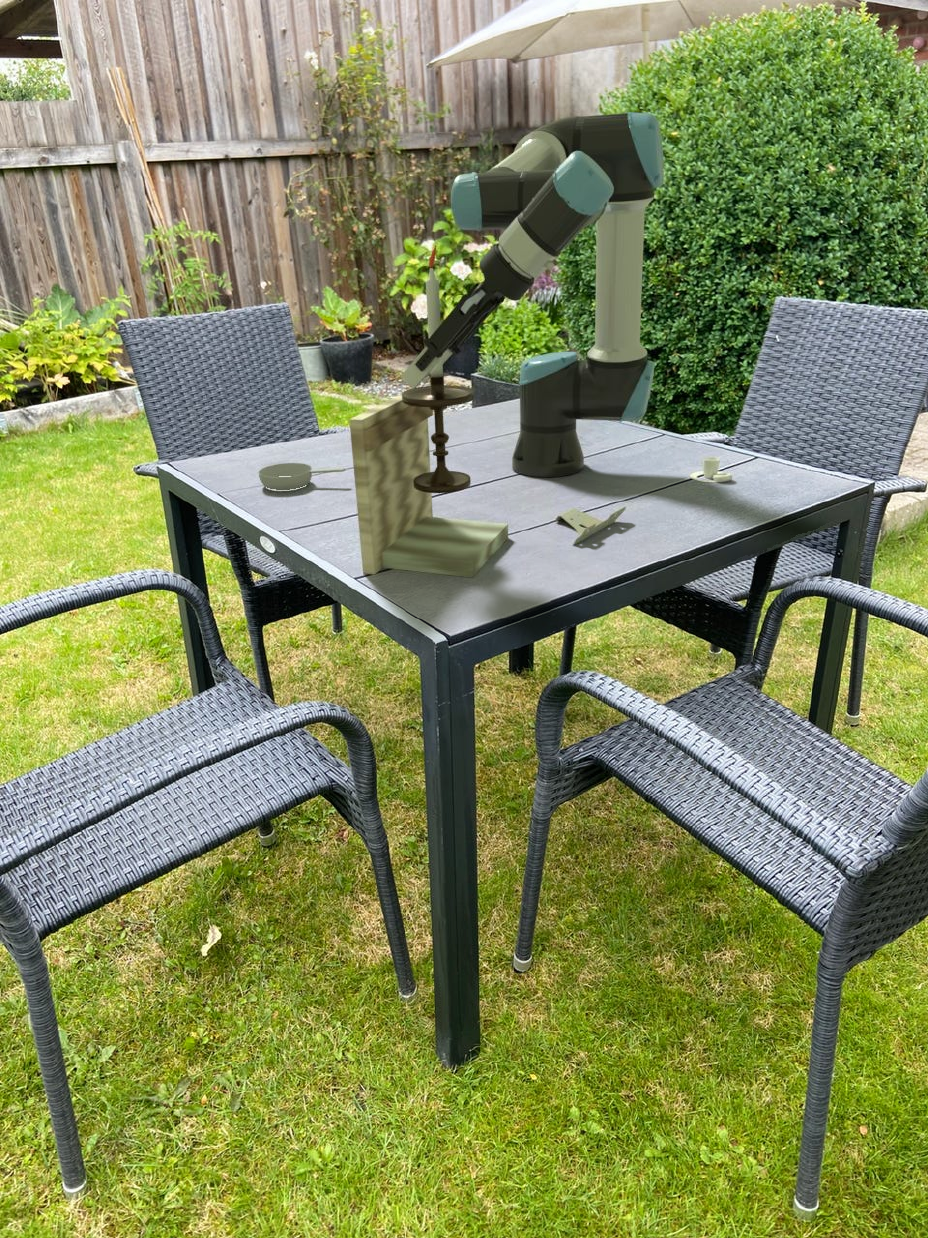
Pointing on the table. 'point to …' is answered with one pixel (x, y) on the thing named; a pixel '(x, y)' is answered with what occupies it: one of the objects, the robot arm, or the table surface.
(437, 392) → the candlestick
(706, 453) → the table surface
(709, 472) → the teacup and saucer
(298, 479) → the small pan
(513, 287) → the robot arm
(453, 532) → the pale wooden blocky structure
